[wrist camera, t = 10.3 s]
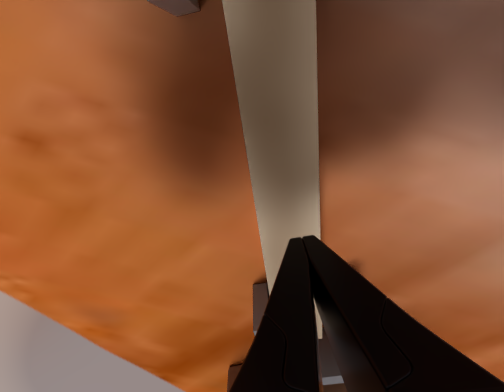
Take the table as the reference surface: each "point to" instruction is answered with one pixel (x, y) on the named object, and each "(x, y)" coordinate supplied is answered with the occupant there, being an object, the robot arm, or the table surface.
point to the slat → (278, 118)
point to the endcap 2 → (326, 354)
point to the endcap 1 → (177, 6)
